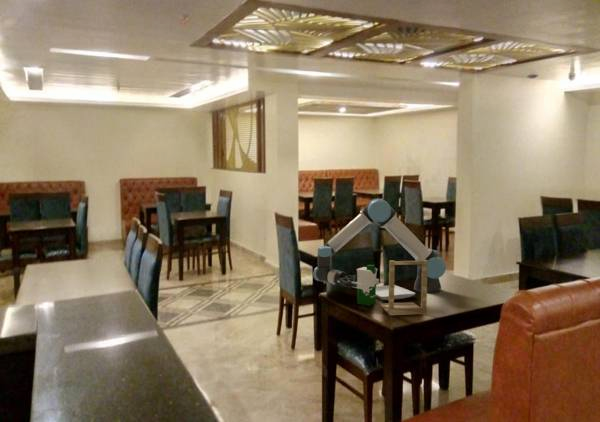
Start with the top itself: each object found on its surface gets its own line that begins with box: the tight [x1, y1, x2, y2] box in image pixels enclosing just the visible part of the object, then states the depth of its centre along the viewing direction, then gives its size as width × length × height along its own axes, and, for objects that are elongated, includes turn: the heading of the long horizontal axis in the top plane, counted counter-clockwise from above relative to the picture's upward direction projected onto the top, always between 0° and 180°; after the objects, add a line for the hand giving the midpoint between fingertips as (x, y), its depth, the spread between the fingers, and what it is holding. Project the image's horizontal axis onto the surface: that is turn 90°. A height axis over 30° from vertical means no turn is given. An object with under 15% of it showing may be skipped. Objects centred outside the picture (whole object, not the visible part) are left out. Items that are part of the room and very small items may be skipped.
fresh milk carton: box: [356, 264, 378, 307], centre depth 245 cm, size 9×9×20 cm
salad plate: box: [376, 284, 416, 301], centre depth 261 cm, size 21×21×3 cm
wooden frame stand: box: [379, 259, 428, 316], centre depth 235 cm, size 18×18×26 cm
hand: (370, 284), depth 243 cm, fingers open, 13 cm apart
